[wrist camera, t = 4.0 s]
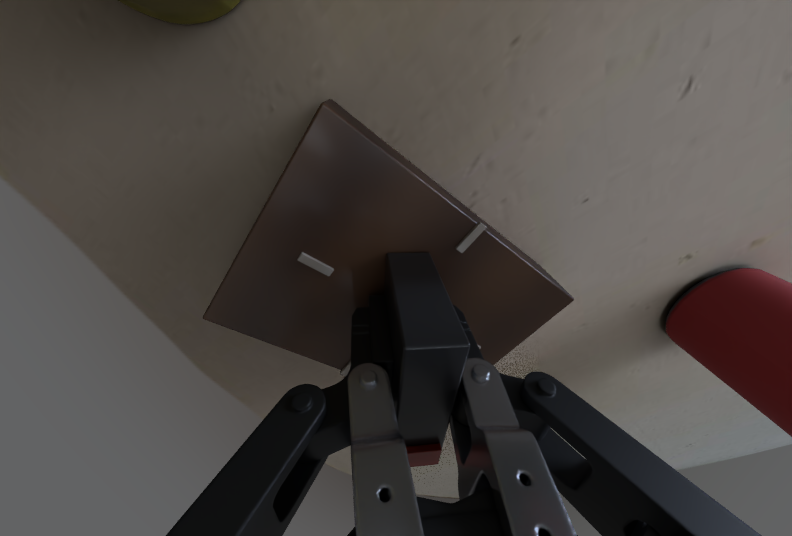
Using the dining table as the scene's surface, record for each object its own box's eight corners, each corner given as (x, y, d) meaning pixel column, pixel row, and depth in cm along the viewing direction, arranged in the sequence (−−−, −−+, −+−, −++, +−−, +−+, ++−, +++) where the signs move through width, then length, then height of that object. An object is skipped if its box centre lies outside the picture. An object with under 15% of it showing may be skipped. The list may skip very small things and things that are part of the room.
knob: (385, 251, 11) (405, 356, 7) (430, 251, 12) (475, 352, 7) (381, 355, 15) (392, 472, 10) (415, 353, 15) (441, 466, 10)
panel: (226, 280, 15) (199, 323, 12) (331, 95, 11) (323, 98, 8) (429, 368, 20) (440, 410, 18) (543, 266, 17) (579, 300, 14)
